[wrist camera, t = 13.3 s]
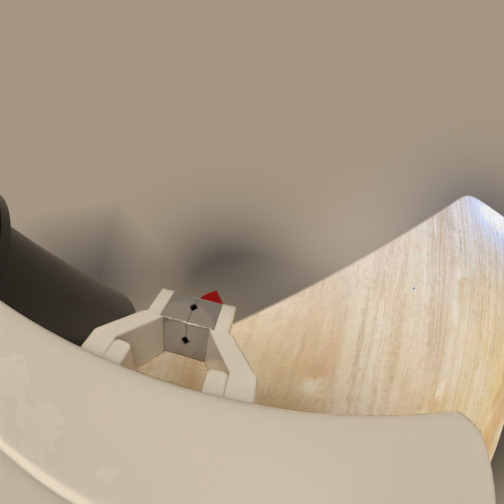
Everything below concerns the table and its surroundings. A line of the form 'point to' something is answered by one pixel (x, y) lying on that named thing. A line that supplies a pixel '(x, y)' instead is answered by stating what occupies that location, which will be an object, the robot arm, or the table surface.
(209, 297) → the red green-capped container
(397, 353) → the table surface
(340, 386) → the table surface
